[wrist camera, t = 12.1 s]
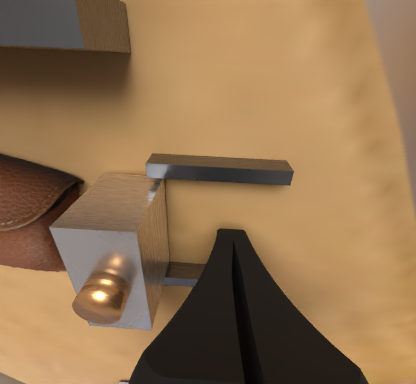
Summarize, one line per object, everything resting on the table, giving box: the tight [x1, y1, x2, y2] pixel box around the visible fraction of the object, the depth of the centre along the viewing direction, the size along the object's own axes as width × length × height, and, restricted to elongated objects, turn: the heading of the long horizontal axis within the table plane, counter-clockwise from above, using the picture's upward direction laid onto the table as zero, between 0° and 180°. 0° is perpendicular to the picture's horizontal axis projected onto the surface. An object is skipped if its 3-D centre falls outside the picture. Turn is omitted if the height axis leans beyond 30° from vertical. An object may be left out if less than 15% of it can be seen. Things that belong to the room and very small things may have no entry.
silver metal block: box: [49, 173, 169, 330], centre depth 11 cm, size 6×3×5 cm, turn 178°
